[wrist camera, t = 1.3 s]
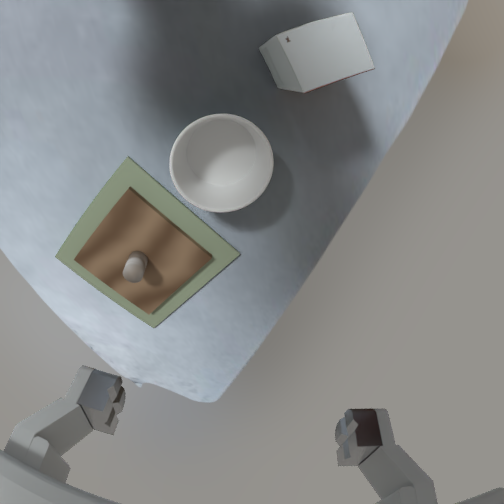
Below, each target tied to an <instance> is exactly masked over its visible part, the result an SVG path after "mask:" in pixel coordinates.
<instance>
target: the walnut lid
mask: <svg viewBox="0 0 504 504" xmlns="http://www.w3.org/2000/svg"><path fill="white" fill-rule="evenodd" d="M211 259H212V254H211V253H209V252H208V251H207V250H206V249H205V248H203V247H202V246H201V245H200V244H198V243H197V242H196V241H195V240H194V239H192V238H191V237H190V236H189V235H188V234H186V233H185V232H184V231H183V230H182V229H180V228H179V227H178V226H177V225H176V224H174V223H173V222H172V221H171V220H170V219H168V218H167V217H166V216H165V215H164V214H162V213H161V212H160V211H159V210H158V209H157V208H155V207H154V206H153V205H152V204H151V203H149V202H148V201H147V200H146V199H145V198H144V197H142V196H141V195H140V194H139V193H138V192H137V191H135V190H134V189H133V188H132V187H131V186H130V187H129V188H128V189H127V191H126V192H125V193H124V194H123V195H122V197H121V198H120V199H119V200H118V202H117V203H116V204H115V205H114V206H113V208H112V209H111V210H110V212H109V213H108V214H107V215H106V217H105V218H104V219H103V220H102V222H101V223H100V224H99V226H98V227H97V228H96V230H95V231H94V232H93V234H92V235H91V236H90V238H89V239H88V240H87V242H86V243H85V244H84V246H83V247H82V249H81V250H80V251H79V253H78V254H77V256H76V257H75V259H74V260H75V261H76V262H77V263H78V264H80V265H81V266H82V267H84V268H85V269H86V270H87V271H89V272H90V273H91V274H93V275H94V276H95V277H97V278H98V279H99V280H101V281H102V282H103V283H105V284H106V285H107V286H109V287H110V288H112V289H113V290H114V291H116V292H117V293H118V294H120V295H121V296H123V297H124V298H125V299H127V300H128V301H130V302H131V303H133V304H134V305H135V306H137V307H138V308H140V309H141V310H143V311H144V312H146V313H147V314H151V313H152V312H153V311H154V310H155V309H156V308H157V307H158V306H159V305H160V304H162V303H163V302H164V301H165V300H166V299H167V298H168V297H169V296H170V295H171V294H173V293H174V292H175V291H176V290H177V289H178V288H179V287H180V286H181V285H183V284H184V283H185V282H186V281H187V280H188V279H189V278H190V277H192V276H193V275H194V274H195V273H196V272H197V271H198V270H199V269H200V268H202V267H203V266H204V265H205V264H206V263H207V262H208V261H209V260H211Z"/></svg>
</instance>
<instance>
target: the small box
mask: <svg viewBox="0 0 504 504" xmlns="http://www.w3.org/2000/svg"><path fill="white" fill-rule="evenodd" d="M259 50H260V52H261V54H262V56H263V58H264V60H265V62H266V64H267V66H268V68H269V70H270V72H271V74H272V76H273V79H274V81H275V83H276V85H277V87H278V88H279V89H285V90H290V91H295V92H301V93H307V92H310V91H312V90H315V89H318V88H320V87H323V86H326V85H329V84H331V83H334V82H337V81H340V80H343V79H346V78H349V77H351V76H354V75H357V74H360V73H364V72H367V71H370V70H373V69H375V67H374V64H373V61H372V59H371V56H370V54H369V51H368V48H367V46H366V43H365V41H364V38H363V36H362V33H361V31H360V28H359V26H358V24H357V21H356V19H355V16H354V14H353V13H351V12H350V13H345V14H341V15H337V16H332V17H329V18H325V19H321V20H317V21H313V22H310V23H307V24H304V25H301V26H299V27H296V28H293V29H290V30H287V31H284V32H282V33H279V34H277V35H275V36H273V37H272V38H271V39H269V40H268V41H267V42H266V43H264V44H263V45H261V46H260V47H259Z"/></svg>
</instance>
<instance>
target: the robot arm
mask: <svg viewBox="0 0 504 504" xmlns="http://www.w3.org/2000/svg"><path fill="white" fill-rule="evenodd" d="M121 384H122V379H121V377H120V376H117V375H113V374H110V373H106V372H103V371H99V370H97V369H94V368H90V367H87V366H82V367H80V369H79V370H78V372H77V374H76V376H75V378H74V380H73V382H72V384H71V386H70V388H69V390H68V392H67V394H66V396H65V398H64V399H63V398H60V399H58V400H56V401H55V402H53V403H51V404H50V405H48V406H47V407H45V408H43V409H41V410H40V411H38V412H36V413H35V414H33V415H31V416H30V417H28V418H26V419H24V420H23V421H21V422H19V423H18V424H16V426H15V428H14V430H13V433H12V434H11V436H10V438H9V441H8V443H7V445H6V447H5V449H4V451H2V450H0V504H120V503H117V502H114V501H111V500H108V499H105V498H102V497H99V496H97V495H94V494H91V493H88V492H85V491H83V490H80V489H78V488H76V487H73V486H71V485H69V484H66V480H67V477H68V474H69V471H70V467H69V465H68V464H67V463H66V462H65V460H64V459H63V458H62V457H61V456H62V455H63V454H64V453H65V452H67V451H68V450H69V449H70V448H72V447H73V446H74V445H75V444H77V443H78V442H79V441H80V440H82V439H83V438H84V437H85V436H87V435H88V434H89V433H90V432H92V431H93V429H94V430H98V431H101V432H104V433H108V434H111V435H114V432H115V429H116V427H117V424H118V418H117V416H116V415H117V414H119V413H120V412H122V410H123V407H124V403H125V390H124V388H123V387H122V386H121ZM335 438H336V439H335V440H336V442H337V443H338V444H339V446H340V447H339V449H338V450H337V460H338V466H358V467H359V469H360V470H361V472H362V473H363V474H364V476H365V477H366V479H367V480H368V481H369V483H370V484H371V486H372V487H373V488H374V490H375V491H376V493H377V494H378V495H379V497H380V498H381V500H380V501H379V502H377V503H375V504H438V503H437V499H436V493H435V488H434V483H433V480H432V479H431V478H430V477H429V476H428V475H427V474H426V473H425V472H424V471H423V470H422V469H421V468H420V467H419V466H418V465H417V464H416V463H415V461H413V459H412V458H411V457H409V455H408V454H407V453H406V452H405V451H404V450H403V449H402V448H401V447H400V446H399V445H395V440H394V436H393V431H392V427H391V423H390V418H389V414H388V411H387V410H386V409H348V410H347V411H346V412H345V417H344V418H342V419H340V420H339V422H338V423H337V426H336V430H335ZM455 504H504V488H496V489H493V490H491V491H488V492H486V493H483V494H481V495H478V496H475V497H473V498H470V499H467V500H464V501H461V502H458V503H455Z"/></svg>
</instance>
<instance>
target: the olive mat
mask: <svg viewBox="0 0 504 504" xmlns="http://www.w3.org/2000/svg"><path fill="white" fill-rule="evenodd" d="M130 186H131V187H132V188H133V189H134V190H135V191H137V192H138V193H139V194H140V195H141V196H142V197H144V198H145V199H146V200H147V201H148V202H149V203H151V204H152V205H153V206H154V207H155V208H157V209H158V210H159V211H160V212H161V213H162V214H164V215H165V216H166V217H167V218H168V219H170V220H171V221H172V222H173V223H174V224H176V225H177V226H178V227H179V228H180V229H182V230H183V231H184V232H185V233H186V234H188V235H189V236H190V237H191V238H192V239H194V240H195V241H196V242H197V243H198V244H200V245H201V246H202V247H203V248H205V249H206V250H207V251H208V252H209V253H211V254H212V259H211V260H209V261H208V262H207V263H206V264H205V265H204V266H203V267H202V268H200V269H199V270H198V271H197V272H196V273H195V274H194V275H193V276H192V277H190V278H189V279H188V280H187V281H186V282H185V283H184V284H183V285H181V286H180V287H179V288H178V289H177V290H176V291H175V292H174V293H173V294H171V295H170V296H169V297H168V298H167V299H166V300H165V301H164V302H163V303H162V304H160V305H159V306H158V307H157V308H156V309H155V310H154V311H153V312H152V313H151V314H147V313H146V312H144V311H143V310H141V309H140V308H138V307H137V306H135V305H134V304H133V303H131V302H130V301H128V300H127V299H125V298H124V297H123V296H121V295H120V294H118V293H117V292H116V291H114V290H113V289H112V288H110V287H109V286H107V285H106V284H105V283H103V282H102V281H101V280H99V279H98V278H97V277H95V276H94V275H93V274H91V273H90V272H89V271H87V270H86V269H85V268H84V267H82V266H81V265H80V264H78V263H77V262H76V261H75V260H74V259H75V257H76V256H77V254H78V253H79V251H80V250H81V249H82V247H83V246H84V244H85V243H86V242H87V240H88V239H89V238H90V236H91V235H92V234H93V232H94V231H95V230H96V228H97V227H98V226H99V224H100V223H101V222H102V220H103V219H104V218H105V217H106V215H107V214H108V213H109V212H110V210H111V209H112V208H113V206H114V205H115V204H116V203H117V202H118V200H119V199H120V198H121V197H122V195H123V194H124V193H125V192H126V191H127V189H128V188H129V187H130ZM239 255H240V253H239V252H238V251H237V250H236V249H235V248H234V247H232V246H231V245H230V244H229V243H228V242H227V241H225V240H224V239H223V238H222V237H221V236H220V235H218V234H217V233H216V232H215V231H214V230H213V229H212V228H210V227H209V226H208V225H207V224H206V223H205V222H203V221H202V220H201V219H200V218H199V217H198V216H196V215H195V214H194V213H193V212H192V211H191V210H190V209H188V208H187V207H186V206H185V205H184V204H183V203H181V202H180V201H179V200H178V199H177V198H176V197H175V196H173V195H172V194H171V193H170V192H169V191H168V190H167V189H165V188H164V187H163V186H162V185H161V184H160V183H158V182H157V181H156V180H155V179H154V178H153V177H152V176H150V175H149V174H148V173H147V172H146V171H145V170H144V169H142V168H141V167H140V166H139V165H138V164H137V163H136V162H134V161H133V160H132V159H131V158H130V157H129V156H128V157H127V158H126V159H125V161H124V162H123V163H122V164H121V165H120V167H119V168H118V169H117V170H116V172H115V173H114V174H113V175H112V177H111V178H110V179H109V180H108V182H107V183H106V184H105V186H104V187H103V188H102V189H101V191H100V192H99V193H98V195H97V196H96V197H95V199H94V200H93V201H92V203H91V204H90V206H89V207H88V208H87V210H86V211H85V213H84V214H83V215H82V217H81V218H80V220H79V221H78V222H77V224H76V225H75V227H74V228H73V230H72V231H71V233H70V234H69V236H68V237H67V239H66V240H65V242H64V243H63V245H62V246H61V248H60V250H59V251H58V253H57V254H56V256H55V257H56V258H57V259H58V260H60V261H61V262H62V263H63V264H65V265H66V266H67V267H68V268H70V269H71V270H72V271H74V272H75V273H76V274H77V275H79V276H80V277H81V278H83V279H84V280H85V281H87V282H88V283H89V284H91V285H92V286H93V287H95V288H96V289H97V290H99V291H100V292H102V293H103V294H104V295H106V296H107V297H108V298H110V299H111V300H113V301H114V302H116V303H117V304H118V305H120V306H121V307H123V308H124V309H126V310H127V311H128V312H130V313H131V314H133V315H134V316H136V317H137V318H139V319H140V320H142V321H143V322H145V323H146V324H148V325H149V326H151V327H152V328H155V327H156V326H157V325H158V324H159V323H160V322H162V321H163V320H164V319H165V318H166V317H167V316H169V315H170V314H171V313H172V312H173V311H174V310H175V309H177V308H178V307H179V306H180V305H181V304H182V303H184V302H185V301H186V300H187V299H188V298H190V297H191V296H192V295H193V294H194V293H195V292H197V291H198V290H199V289H200V288H201V287H202V286H204V285H205V284H206V283H207V282H208V281H209V280H211V279H212V278H213V277H214V276H215V275H216V274H218V273H219V272H220V271H221V270H222V269H223V268H225V267H226V266H227V265H228V264H229V263H230V262H232V261H233V260H234V259H235V258H236V257H238V256H239Z"/></svg>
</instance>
